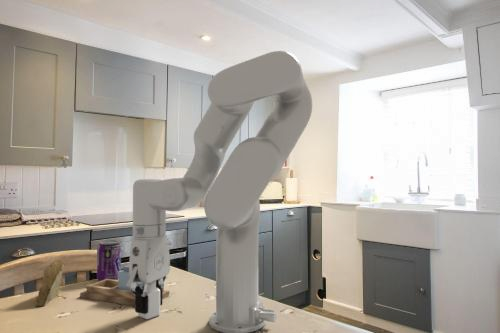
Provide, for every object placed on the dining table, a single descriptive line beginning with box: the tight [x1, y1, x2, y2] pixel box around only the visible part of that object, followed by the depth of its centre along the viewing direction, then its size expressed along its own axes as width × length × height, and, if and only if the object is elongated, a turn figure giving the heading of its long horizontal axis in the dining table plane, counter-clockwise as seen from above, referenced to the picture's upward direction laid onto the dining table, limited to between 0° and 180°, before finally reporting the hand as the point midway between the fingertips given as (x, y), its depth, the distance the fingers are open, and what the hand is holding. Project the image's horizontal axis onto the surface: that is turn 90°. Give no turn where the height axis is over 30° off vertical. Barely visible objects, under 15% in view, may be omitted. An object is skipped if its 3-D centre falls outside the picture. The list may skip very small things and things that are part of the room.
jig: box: [79, 279, 170, 307], centre depth 99 cm, size 22×10×3 cm, turn 68°
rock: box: [34, 260, 65, 307], centre depth 97 cm, size 11×9×10 cm
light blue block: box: [117, 264, 143, 291], centre depth 98 cm, size 9×4×7 cm, turn 68°
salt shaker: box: [137, 281, 161, 320], centre depth 85 cm, size 4×4×10 cm
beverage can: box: [96, 239, 122, 281], centre depth 116 cm, size 7×7×12 cm
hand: (149, 307), depth 85 cm, fingers closed on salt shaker, 4 cm apart
